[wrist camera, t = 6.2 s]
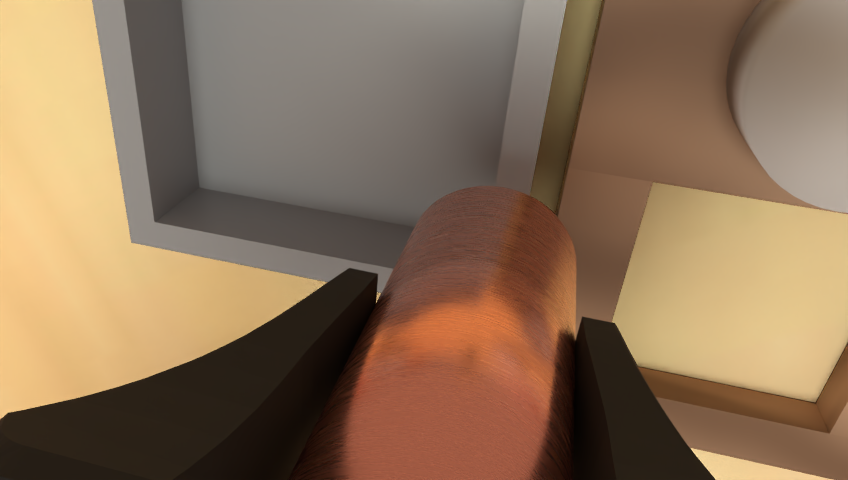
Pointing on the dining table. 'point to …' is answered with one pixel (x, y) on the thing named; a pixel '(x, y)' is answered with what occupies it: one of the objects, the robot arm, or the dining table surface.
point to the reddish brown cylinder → (461, 354)
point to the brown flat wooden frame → (713, 177)
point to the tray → (318, 120)
